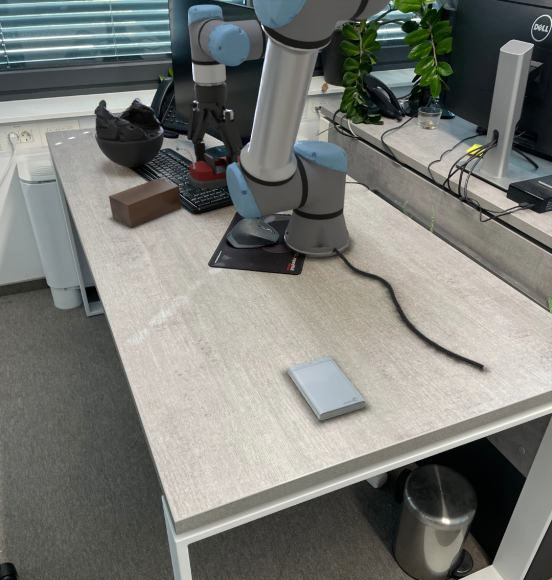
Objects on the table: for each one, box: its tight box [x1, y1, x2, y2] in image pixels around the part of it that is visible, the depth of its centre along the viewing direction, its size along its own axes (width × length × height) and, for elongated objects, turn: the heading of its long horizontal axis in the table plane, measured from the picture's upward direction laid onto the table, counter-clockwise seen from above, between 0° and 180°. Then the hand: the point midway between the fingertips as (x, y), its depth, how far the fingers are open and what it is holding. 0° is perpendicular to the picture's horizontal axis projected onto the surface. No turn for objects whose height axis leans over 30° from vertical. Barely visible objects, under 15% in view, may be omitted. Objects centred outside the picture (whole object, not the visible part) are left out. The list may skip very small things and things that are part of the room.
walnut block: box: [108, 177, 182, 228], centre depth 149 cm, size 8×16×6 cm, turn 137°
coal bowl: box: [94, 97, 165, 168], centre depth 171 cm, size 20×20×19 cm
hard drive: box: [287, 356, 366, 421], centre depth 96 cm, size 2×8×12 cm
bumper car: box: [175, 146, 240, 190], centre depth 145 cm, size 10×20×10 cm, turn 120°
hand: (216, 174), depth 147 cm, fingers closed on bumper car, 11 cm apart
